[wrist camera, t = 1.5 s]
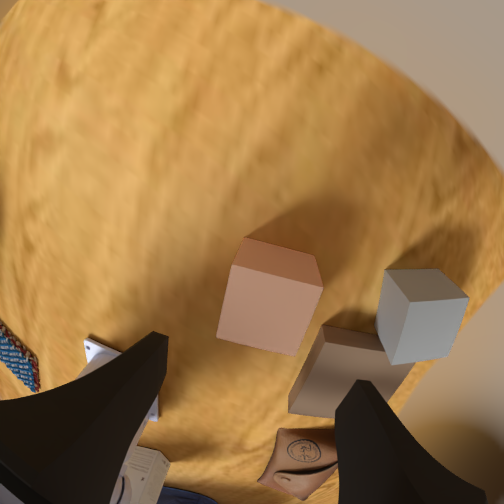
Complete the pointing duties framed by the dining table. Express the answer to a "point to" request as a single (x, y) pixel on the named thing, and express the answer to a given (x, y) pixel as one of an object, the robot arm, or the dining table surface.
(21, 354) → the woven mat
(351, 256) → the dining table surface
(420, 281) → the grey cube
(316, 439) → the sunglasses case
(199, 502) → the lunch bag
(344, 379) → the walnut slab
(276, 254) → the terracotta cube
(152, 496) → the skincare box
